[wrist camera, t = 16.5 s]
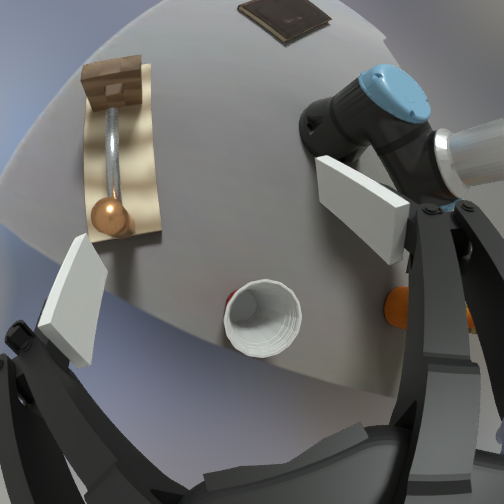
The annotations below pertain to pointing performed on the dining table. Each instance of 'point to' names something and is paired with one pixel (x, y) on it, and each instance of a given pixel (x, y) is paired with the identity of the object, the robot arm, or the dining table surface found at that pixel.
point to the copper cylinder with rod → (112, 188)
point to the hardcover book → (285, 16)
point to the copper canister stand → (121, 140)
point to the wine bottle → (405, 308)
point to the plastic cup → (262, 318)
